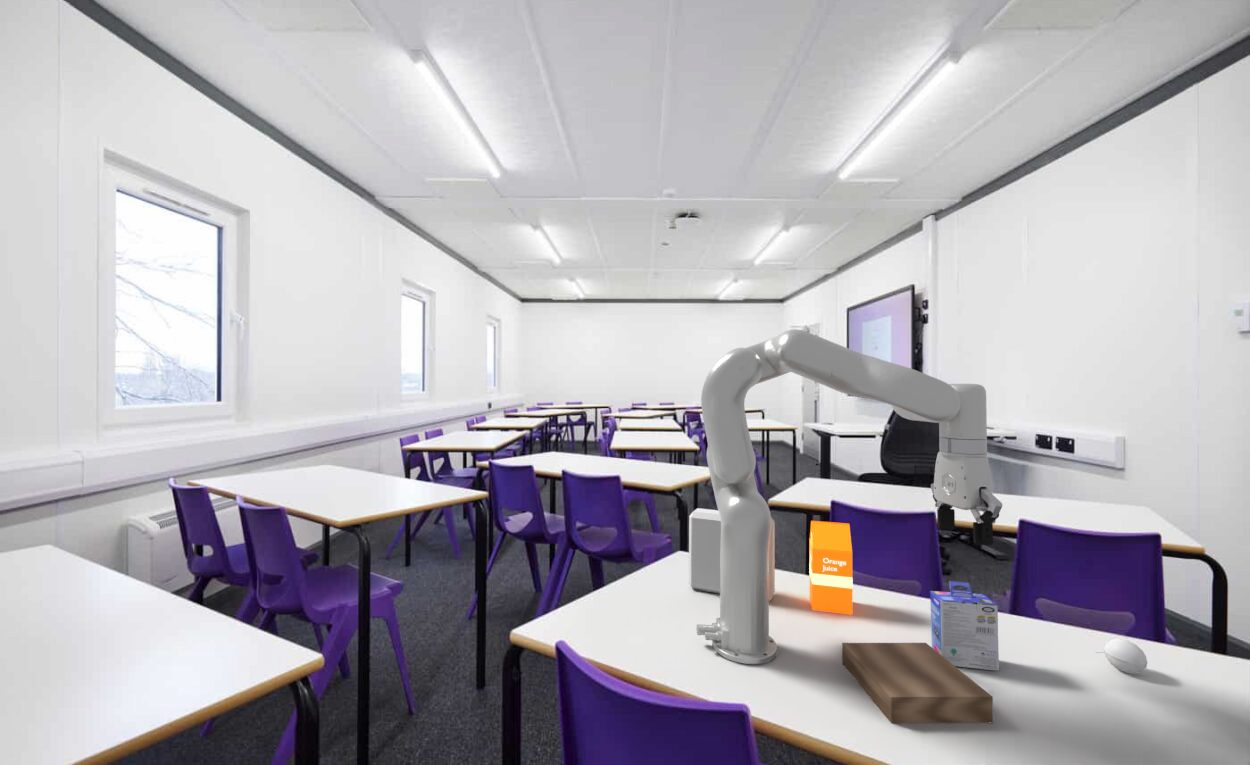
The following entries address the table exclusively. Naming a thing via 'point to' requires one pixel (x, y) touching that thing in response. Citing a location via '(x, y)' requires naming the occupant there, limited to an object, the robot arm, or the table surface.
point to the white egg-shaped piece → (1125, 656)
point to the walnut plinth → (916, 684)
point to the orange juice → (830, 567)
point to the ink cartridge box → (965, 627)
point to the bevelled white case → (714, 551)
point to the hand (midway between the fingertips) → (963, 536)
